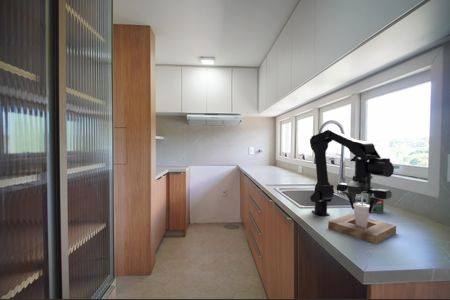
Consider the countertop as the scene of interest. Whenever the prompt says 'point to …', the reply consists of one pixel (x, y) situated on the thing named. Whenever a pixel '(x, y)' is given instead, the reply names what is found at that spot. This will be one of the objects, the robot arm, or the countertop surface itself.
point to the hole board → (363, 228)
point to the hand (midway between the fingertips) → (361, 211)
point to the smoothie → (361, 213)
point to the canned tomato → (379, 205)
